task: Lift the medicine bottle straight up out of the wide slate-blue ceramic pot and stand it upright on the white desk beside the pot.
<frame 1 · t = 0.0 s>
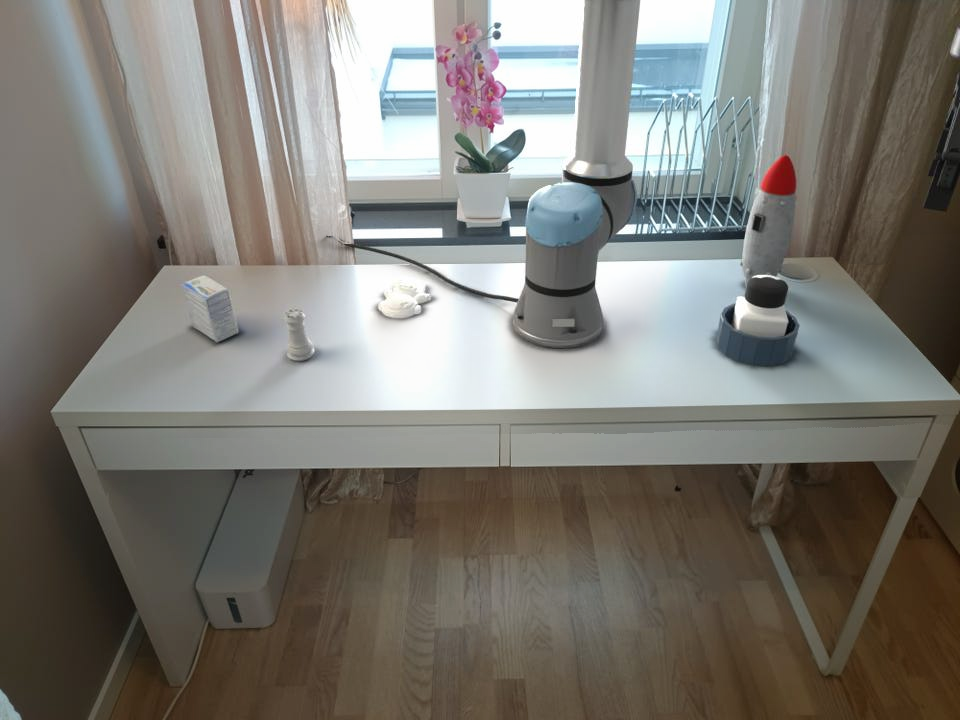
hand: (936, 192, 102), 28 cm above the table, tool pointing down, fingers open, 13 cm apart
astronaut figurine: (405, 303, 135), on the table
toy rocket: (755, 287, 138), on the table
medicine box: (215, 331, 127), on the table
medicine bottle: (753, 346, 121), resting in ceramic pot
rook chess piece: (301, 355, 121), on the table
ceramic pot: (753, 346, 121), on the table
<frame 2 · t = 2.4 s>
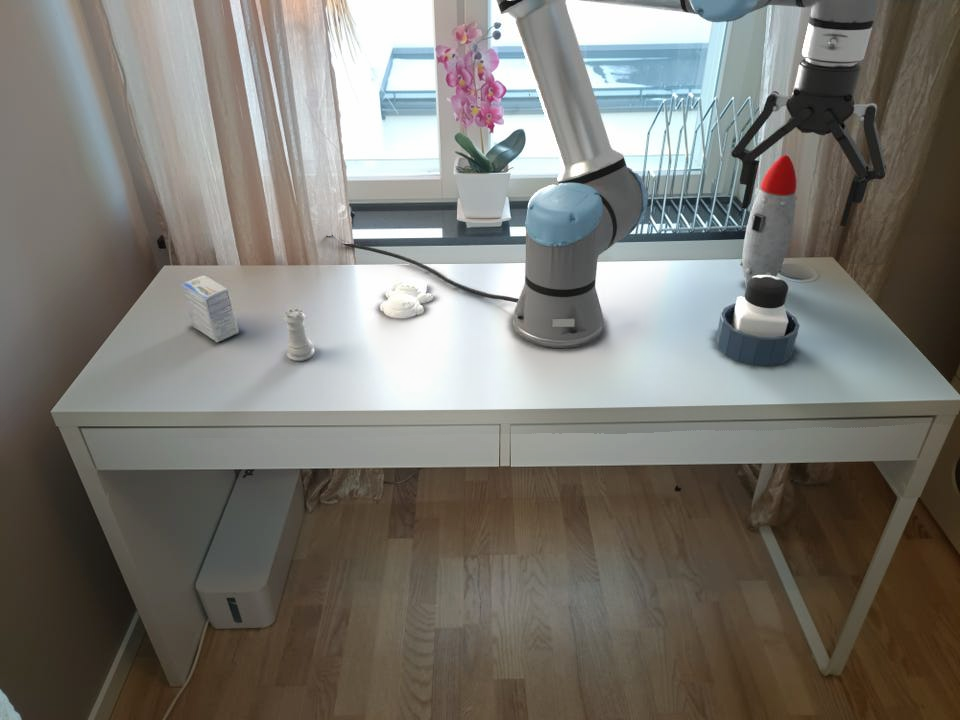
hand: (793, 214, 108), 23 cm above the table, tool pointing down, fingers open, 13 cm apart
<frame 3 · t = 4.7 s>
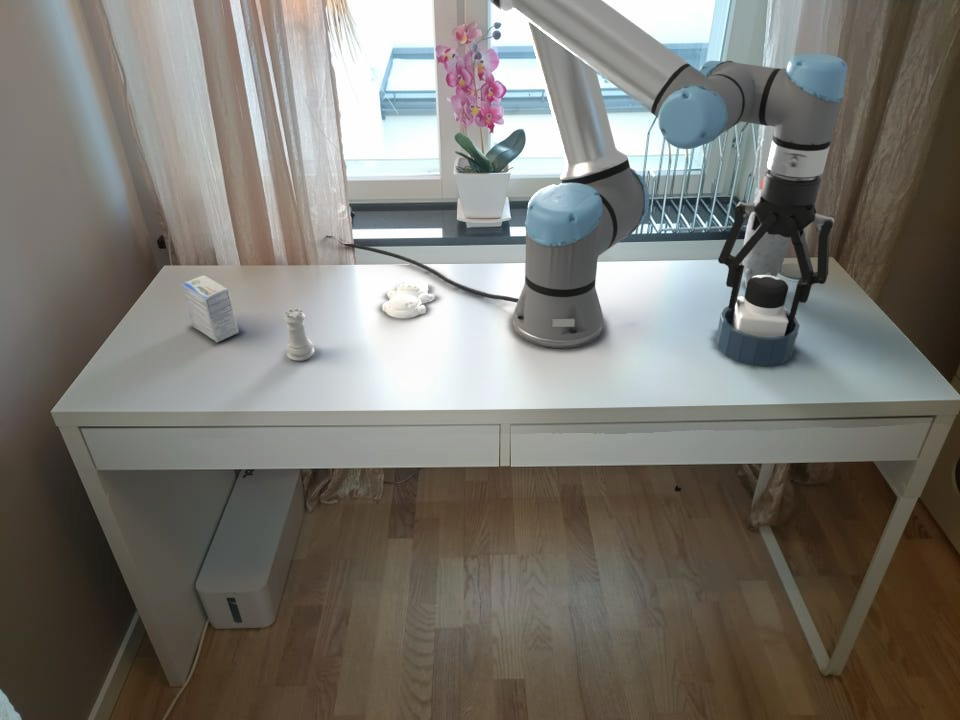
hand: (761, 311, 118), 7 cm above the table, tool pointing down, fingers closed on medicine bottle, 8 cm apart
medicine bottle: (753, 346, 121), resting in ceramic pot, touching gripper
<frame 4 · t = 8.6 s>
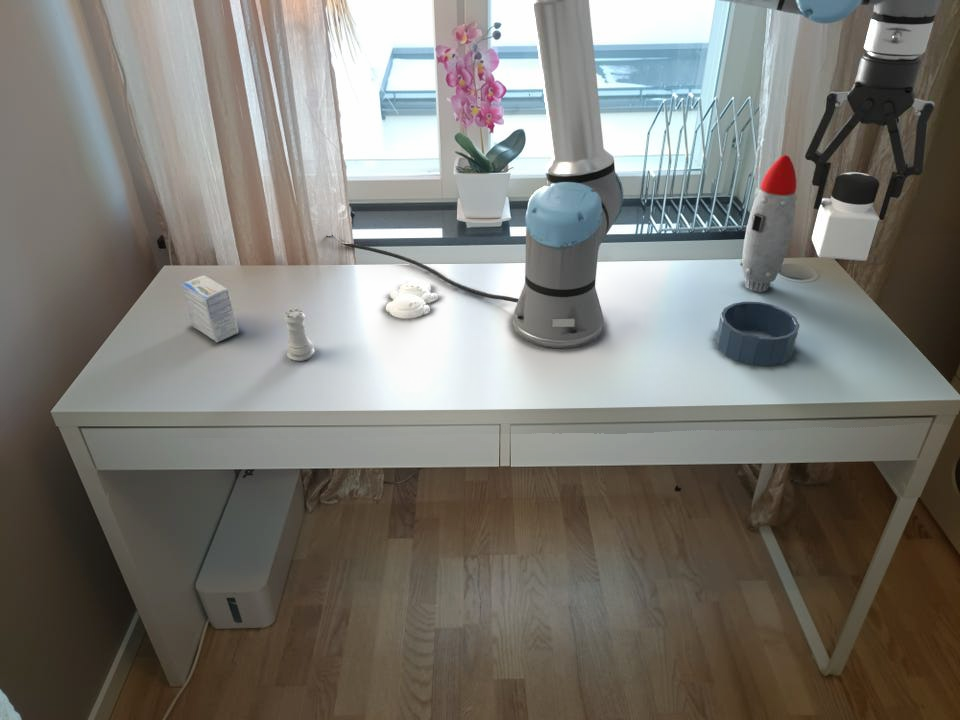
hand: (849, 211, 113), 21 cm above the table, tool pointing down, fingers closed on medicine bottle, 8 cm apart
medicine bottle: (837, 251, 117), point 15 cm above the table, touching gripper
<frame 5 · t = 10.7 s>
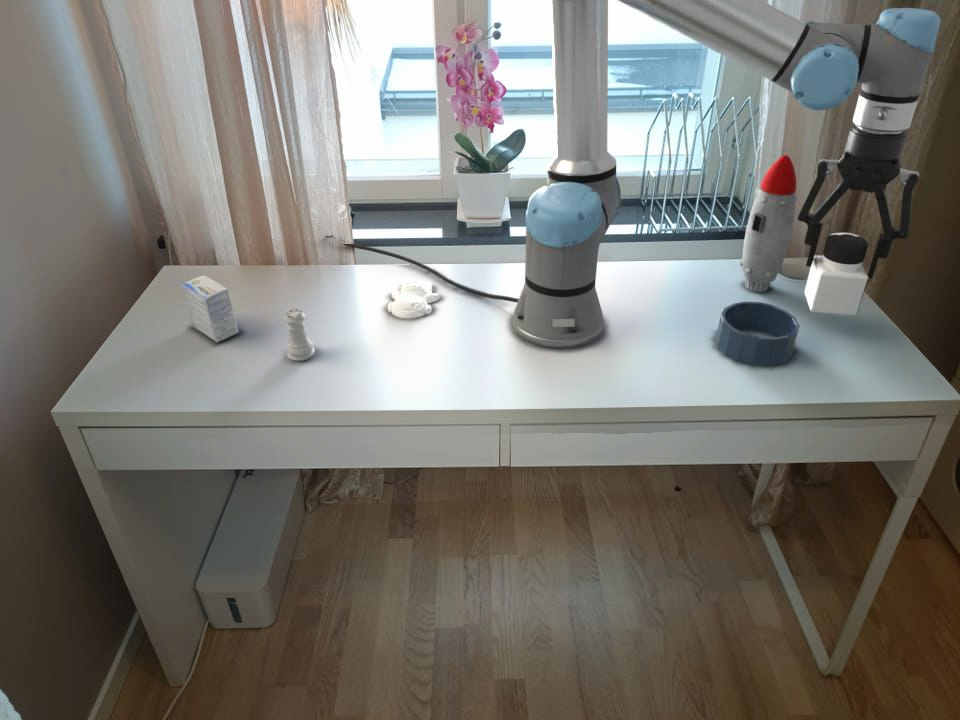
hand: (839, 268, 119), 11 cm above the table, tool pointing down, fingers closed on medicine bottle, 8 cm apart
medicine bottle: (829, 305, 123), point 5 cm above the table, touching gripper
when the fingers open (6 cm above the table, at t = 12.4 s): medicine bottle stays where it is, on the table.
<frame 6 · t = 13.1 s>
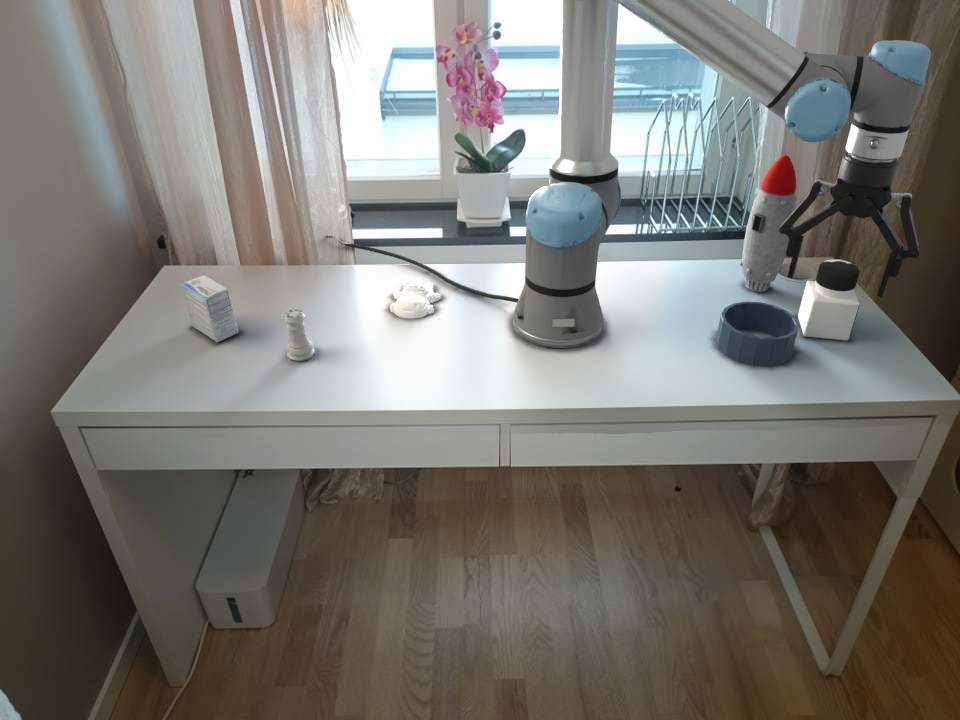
hand: (834, 283, 121), 9 cm above the table, tool pointing down, fingers open, 13 cm apart
medicine bottle: (821, 329, 126), on the table
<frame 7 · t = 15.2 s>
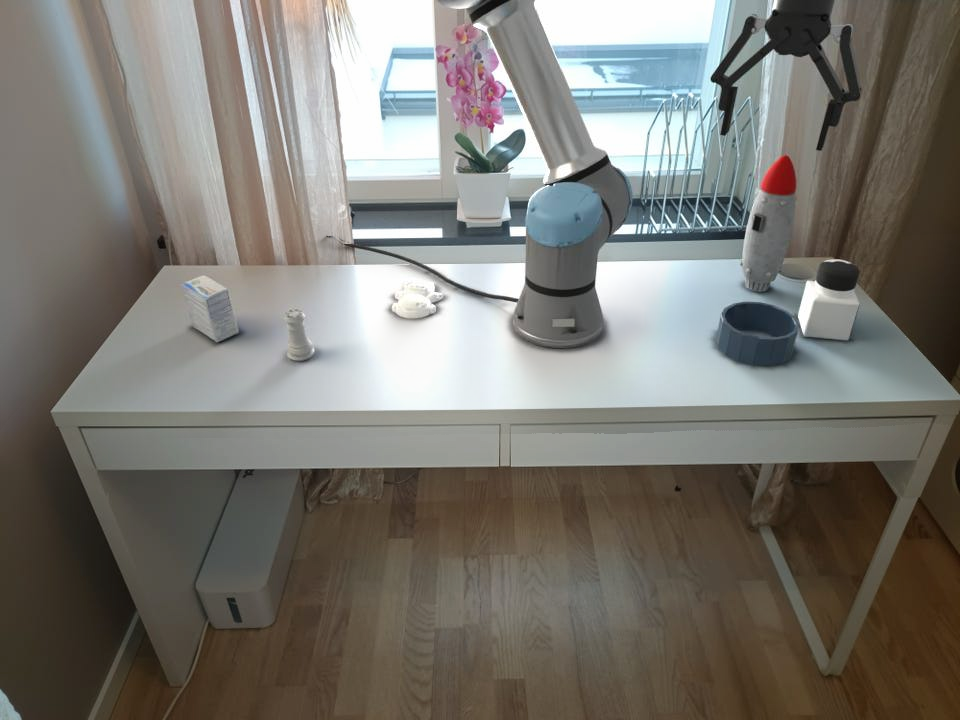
hand: (771, 140, 109), 32 cm above the table, tool pointing down, fingers open, 13 cm apart
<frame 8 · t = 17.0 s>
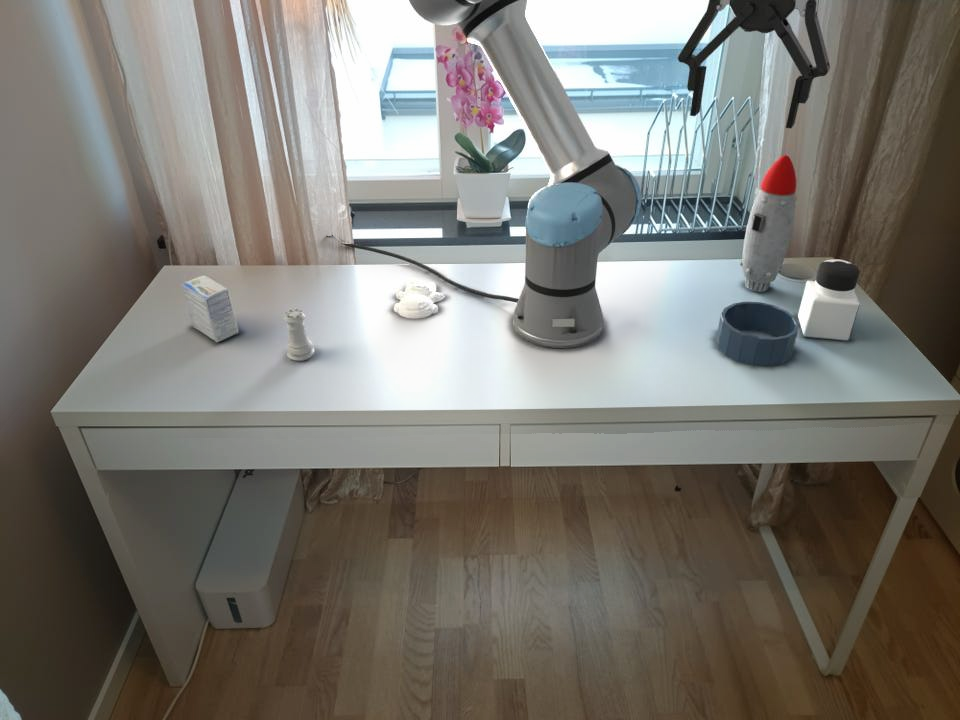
hand: (741, 119, 108), 35 cm above the table, tool pointing down, fingers open, 13 cm apart
at the end: medicine bottle inside the target area (0.0 cm from its centre), on the table; medicine bottle tilted 0°; the gripper is holding nothing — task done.
